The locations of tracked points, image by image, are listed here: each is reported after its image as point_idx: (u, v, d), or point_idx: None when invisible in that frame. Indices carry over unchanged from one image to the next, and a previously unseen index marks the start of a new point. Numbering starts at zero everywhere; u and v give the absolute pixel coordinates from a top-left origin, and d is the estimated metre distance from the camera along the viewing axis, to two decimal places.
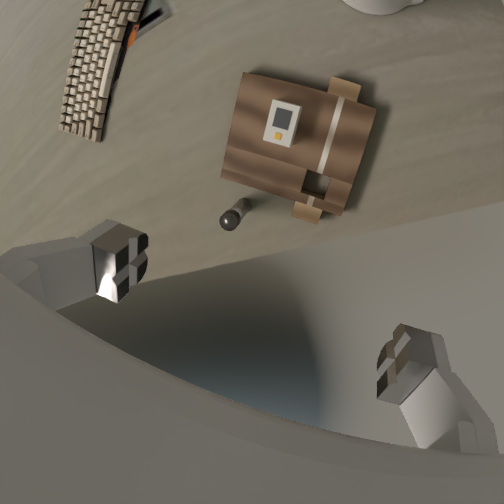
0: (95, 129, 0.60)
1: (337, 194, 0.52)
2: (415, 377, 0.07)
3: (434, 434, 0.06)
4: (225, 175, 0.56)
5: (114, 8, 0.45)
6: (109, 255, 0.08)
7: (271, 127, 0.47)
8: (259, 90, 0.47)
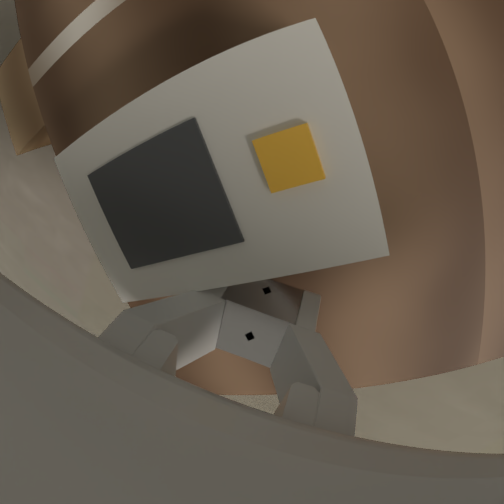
0: None
1: None
2: (272, 333, 0.07)
3: None
4: None
5: None
6: (248, 312, 0.07)
7: (257, 236, 0.06)
8: None
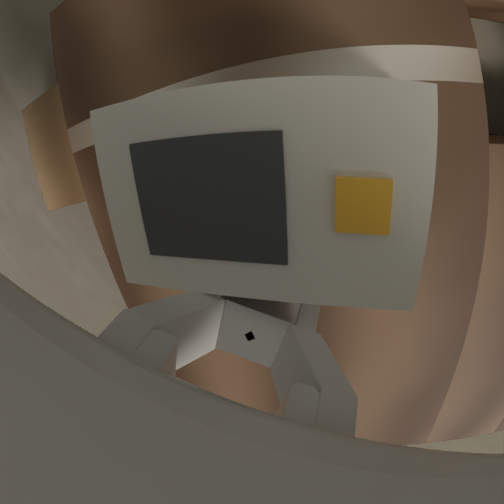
0: None
1: None
2: (273, 333, 0.07)
3: None
4: None
5: None
6: (248, 312, 0.07)
7: (303, 263, 0.06)
8: None
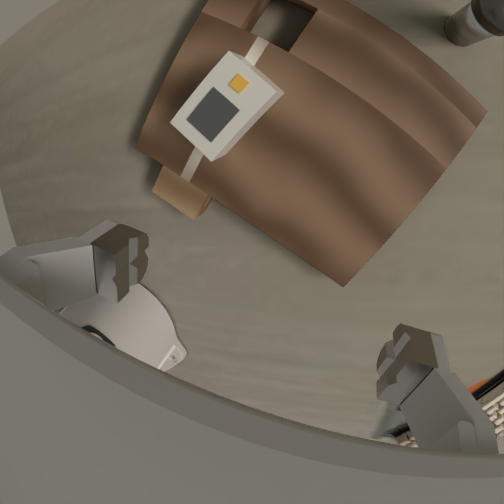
0: None
1: None
2: (415, 377, 0.07)
3: (434, 434, 0.06)
4: (475, 109, 0.17)
5: None
6: (109, 255, 0.08)
7: (242, 106, 0.20)
8: (330, 244, 0.26)
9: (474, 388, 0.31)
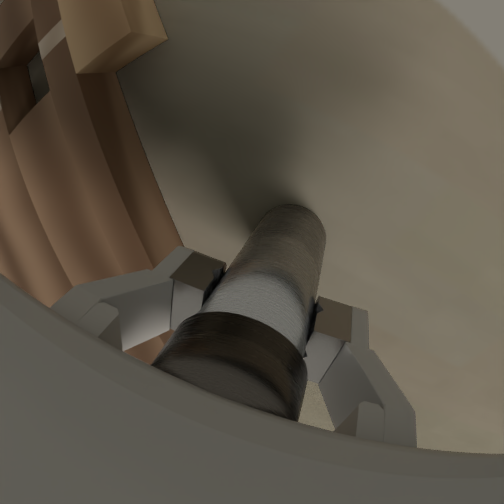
0: None
1: (11, 15, 0.08)
2: (326, 351, 0.07)
3: None
4: None
5: None
6: (194, 291, 0.07)
7: None
8: None
9: None
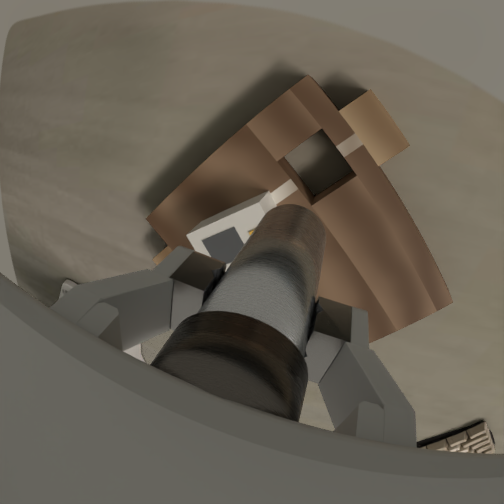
0: (469, 437, 0.33)
1: (286, 121, 0.22)
2: (326, 351, 0.07)
3: None
4: (444, 299, 0.24)
5: None
6: (194, 291, 0.07)
7: None
8: None
9: None
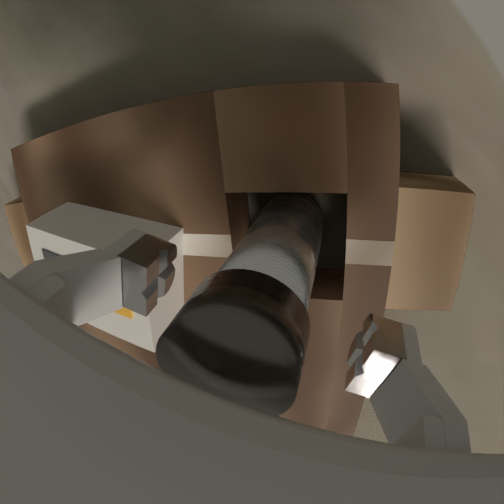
0: None
1: (292, 136, 0.10)
2: (383, 368, 0.07)
3: (403, 429, 0.06)
4: None
5: None
6: (139, 269, 0.08)
7: (106, 318, 0.12)
8: None
9: None
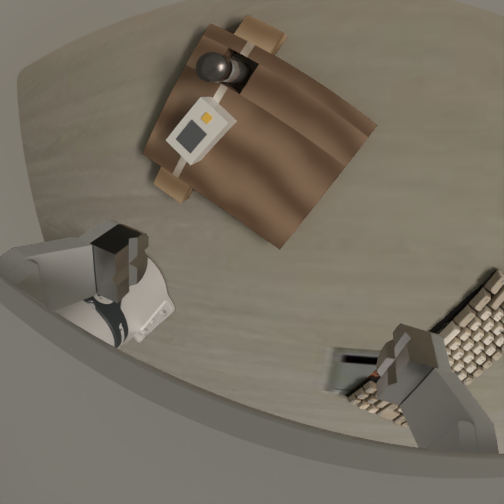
0: (491, 292, 0.35)
1: None
2: (415, 377, 0.07)
3: (434, 434, 0.06)
4: (367, 124, 0.31)
5: (387, 403, 0.50)
6: (108, 255, 0.08)
7: (208, 132, 0.33)
8: (268, 219, 0.39)
9: None
